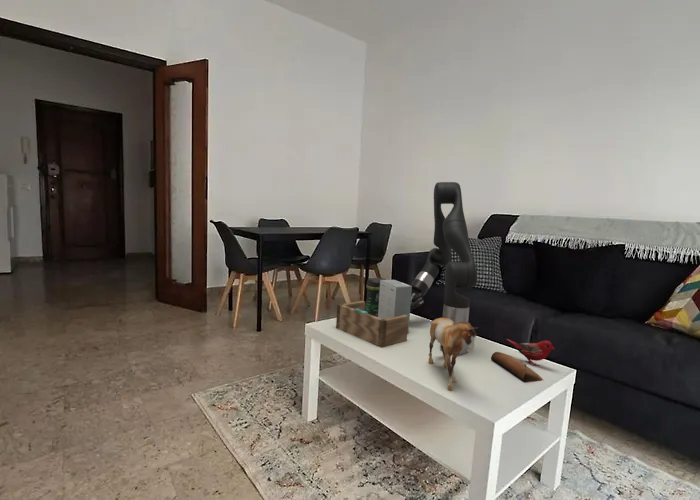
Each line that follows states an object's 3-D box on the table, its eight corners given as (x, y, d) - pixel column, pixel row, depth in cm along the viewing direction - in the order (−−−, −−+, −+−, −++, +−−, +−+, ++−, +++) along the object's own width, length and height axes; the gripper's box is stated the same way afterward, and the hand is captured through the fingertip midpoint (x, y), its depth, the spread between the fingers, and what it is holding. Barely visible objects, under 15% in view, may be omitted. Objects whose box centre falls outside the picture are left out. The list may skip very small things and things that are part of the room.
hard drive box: (409, 333, 167) (412, 286, 165) (392, 335, 164) (396, 287, 162) (392, 322, 181) (395, 279, 179) (376, 323, 178) (379, 279, 176)
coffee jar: (369, 320, 183) (372, 280, 181) (361, 315, 190) (364, 276, 188) (388, 318, 187) (390, 279, 185) (379, 313, 194) (382, 276, 192)
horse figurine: (473, 397, 113) (479, 327, 111) (445, 397, 113) (452, 325, 111) (443, 355, 144) (447, 299, 142) (421, 355, 144) (426, 298, 141)
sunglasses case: (546, 380, 127) (539, 363, 126) (529, 392, 126) (521, 375, 125) (510, 358, 145) (504, 343, 143) (495, 369, 144) (488, 354, 142)
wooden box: (406, 340, 158) (408, 314, 157) (381, 347, 149) (383, 319, 148) (360, 322, 178) (362, 299, 177) (336, 327, 169) (337, 303, 168)
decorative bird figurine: (550, 372, 134) (553, 343, 133) (501, 355, 148) (504, 328, 147) (554, 370, 136) (557, 342, 135) (505, 353, 150) (508, 327, 149)
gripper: (407, 276, 184) (386, 305, 178) (430, 281, 174) (409, 312, 168) (414, 286, 188) (394, 315, 182) (436, 292, 178) (416, 323, 172)
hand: (401, 314), depth 175 cm, fingers closed
